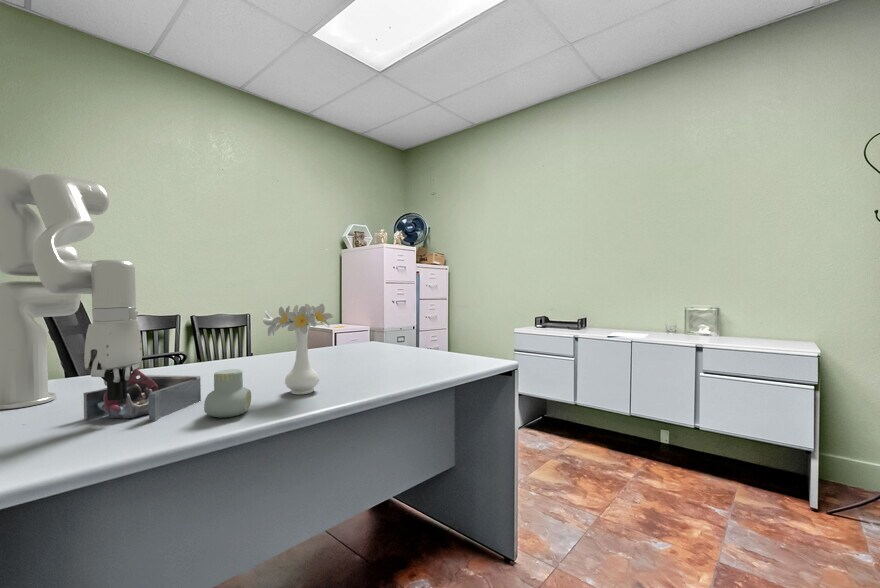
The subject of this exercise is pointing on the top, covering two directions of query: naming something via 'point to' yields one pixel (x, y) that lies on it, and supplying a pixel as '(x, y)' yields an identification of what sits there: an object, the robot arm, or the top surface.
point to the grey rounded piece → (228, 395)
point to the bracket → (154, 396)
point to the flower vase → (300, 343)
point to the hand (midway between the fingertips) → (117, 399)
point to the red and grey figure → (131, 398)
